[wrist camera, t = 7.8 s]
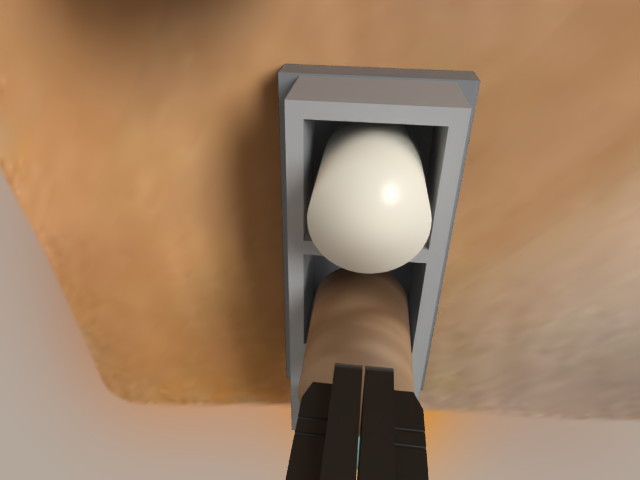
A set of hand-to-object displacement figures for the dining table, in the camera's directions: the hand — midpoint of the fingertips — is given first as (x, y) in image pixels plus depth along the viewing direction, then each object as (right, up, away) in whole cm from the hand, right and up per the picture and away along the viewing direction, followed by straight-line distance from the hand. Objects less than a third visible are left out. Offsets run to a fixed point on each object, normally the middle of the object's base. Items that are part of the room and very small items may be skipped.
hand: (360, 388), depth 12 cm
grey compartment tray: (+2, +4, +19) cm, 19 cm away
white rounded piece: (+2, +8, +13) cm, 15 cm away
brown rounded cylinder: (+1, 0, +14) cm, 14 cm away
